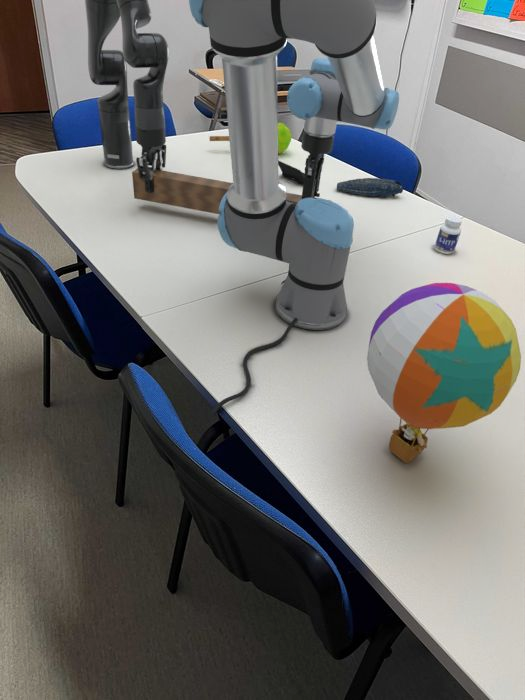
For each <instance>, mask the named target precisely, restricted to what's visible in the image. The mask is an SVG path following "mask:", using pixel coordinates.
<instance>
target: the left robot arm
mask: <svg viewBox="0 0 525 700" xmlns="http://www.w3.org/2000/svg"><path fill="white" fill-rule="evenodd" d="M84 4H85V15H86V23H87V67H88V69H87V70H88V75H89V78H90V80H91V82H92V83H93V84H94V85H98V86H115V87H114V88H113V89H112V90H111V91H110V92H108V93H106V94H104V95H101V96H100V97H98V99H97V109H98V116H99V117H98V118H99V125H100V126H99V127H100V134H101V143H102V151H103V160H104V161H103V162H104V166H105V167H108V168H110V169H117V170H119V169H120V170H121V169H122V170H123V169H129V168H131V167H133V166H134V164H135V163H134V153H133V140H132V128H131V116H130V105H129V91H128V66H130V67H131V68H133V69H145V68H146V69H147V68H148V69H149V70H148V72H147V74H145V75H144V76H140V77H138V78H136V79H134V81H133V84H132V85H133V86H132V87H133V98H134V99H133V100H134V102H133V103H134V113H133V114H134V115H133V117H134V128H135V141H136V143H137V145H139V146H141V156H140V157H136V159H135V161H136V166H137V168H138V172H139V177H140V179H144V180H145V191H146V192H147V193H153V192H154V185H153V172H154V171H155V169H157V170H163V171H164V168H166V163H167V162H166V159H167V145H166V142H167V137H166V115H165V108H164V92H163V91H164V89H163V88H164V83H165V78H166V77H165V75H166V71H167V66H168V63H169V58H170V57H169V56H170V50H169V45H168V42H167V40H166V38H165V37H164V36H163V35H162V34H161V33H159V32H148V33H147V32H143V33H142V32H141V33H138V32H137V29H140V28H143V27H146V26H147V25H149V24H150V23H151V20H152V11H151V7H150V3H149V1H148V0H84ZM119 21H121V32H122V50H119V49H103V46H104V43H105V41H106V39H107V37H108V36H109V35H110V34H111V32H112V31H113V29H114V28H115V27H116V25H117V24H118V22H119ZM149 170H150V174H149Z"/></svg>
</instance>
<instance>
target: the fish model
mask: <svg viewBox="0 0 525 700" xmlns="http://www.w3.org/2000/svg"><path fill="white" fill-rule="evenodd" d="M336 190H337V191H341V192H344V193H347V194H352V195H357V196H366V197H367V196H368V197H379V198H380V197H381V198H386V197H388V196H391V197H396V196H397V195H399V194H402V193H403V191H404V187H403V185H402V182H401V181H397V180H393V179H388V178H379V177H364V178H354V179H348V180H344V181H340V182H337V184H336Z"/></svg>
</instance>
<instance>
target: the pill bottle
mask: <svg viewBox="0 0 525 700" xmlns="http://www.w3.org/2000/svg"><path fill="white" fill-rule="evenodd" d="M462 222H463V219H461V218H460V217H458V216H455V215H448V216H446V218H445V220H444V223H443V224H442V225H440V228H439V231H438V234H437V237H436V240H435V243H434V250H435V251H437V252H439V253H441V254H447V255H449V254H453V253H454V252H455V250H456V247H457V244H458V242H459V239H460V236H461V233H462V229H461V225H462Z"/></svg>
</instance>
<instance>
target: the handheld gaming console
mask: <svg viewBox="0 0 525 700" xmlns="http://www.w3.org/2000/svg"><path fill="white" fill-rule="evenodd" d="M278 168H279V169H280V171H281V175H282V176H284V177H286V178H288V179H291V180H293V181H295V182H296V183H299V184H301V185H303V183H304V175H305V172H303V171H302V170H301V169H298V168H296V167H294V166H292V165H290V164H288V163H285V162H283V161H281V160H278Z"/></svg>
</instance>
